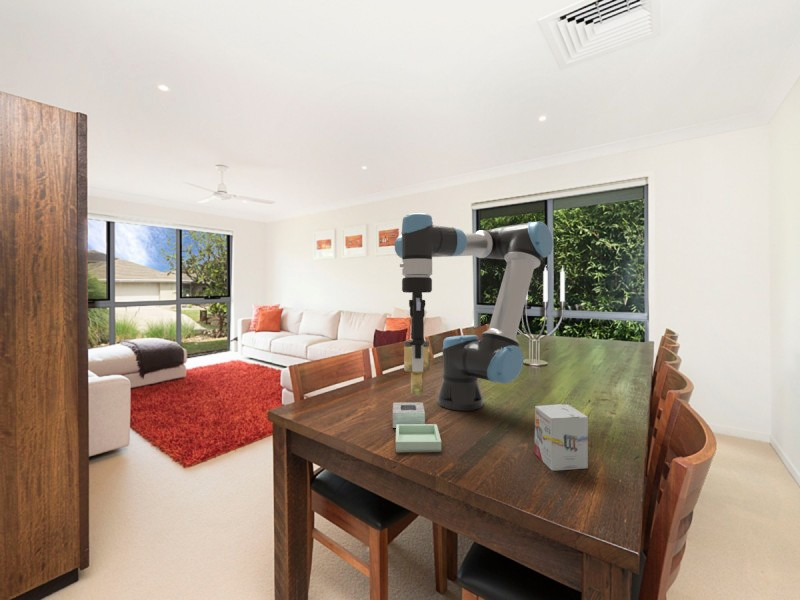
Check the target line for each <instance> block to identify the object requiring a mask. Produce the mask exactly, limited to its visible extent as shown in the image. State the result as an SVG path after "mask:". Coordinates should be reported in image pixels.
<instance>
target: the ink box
mask: <svg viewBox="0 0 800 600" xmlns="http://www.w3.org/2000/svg"><path fill="white" fill-rule="evenodd" d="M534 414H535V415H534V454H535V455H536V456H537V457H538V458H539V459H540V461H542V462H543V463H544V464H545V465H546V466H547V468H549V469H550V470H551V471H552V472H553V471H554V472H555V471H565V470H566V471H567V470H568V471H569V470H580V469H581V470H583V469H588V466H589V464H588V462H589V459H588V456H589V455H588V453H589V452H588V450H589V441H588V440H589V416H587V415H586V414H584V413H583V412H581V411H579V410H578V409H576V408H575V407H573V406H571V405H570V404H562V403H558V404H555V403H554V404H545V405H535V406H534Z"/></svg>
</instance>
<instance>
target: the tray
mask: <svg viewBox="0 0 800 600" xmlns="http://www.w3.org/2000/svg"><path fill="white" fill-rule="evenodd" d="M395 453H442V439H441V435H440V432H439V428H438V424H437V423H425V424H396V429H395Z"/></svg>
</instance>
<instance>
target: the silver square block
mask: <svg viewBox="0 0 800 600" xmlns="http://www.w3.org/2000/svg"><path fill="white" fill-rule="evenodd" d="M396 424H426V412H425V407H424V403H423V402H393V403H392V429H393V428H396Z"/></svg>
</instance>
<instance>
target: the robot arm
mask: <svg viewBox="0 0 800 600" xmlns="http://www.w3.org/2000/svg"><path fill="white" fill-rule="evenodd" d="M401 222H402V225H401V231H400V232H401V234H400V235H398V236H397V237H396V239H395V241H394V252H395V253H396V256H398V258H401V259H402V261H401V263H399V267H400V268H402V269H401V271H402V273H401V274H402V276H403V277H402V279H401V291H402V292H403V293H406V294H407V293H410V294H412V295H411V299H408V307H409V315H410V318H411V321H410V324H411V326H410V328H411V329H410V330H411V331H410V339H411V340H410V341H412V342H410V345H412V372H423V344H424V341H425V339H424V337H425V335H424V333H425V332H424V330H425V329H424V328H425V327H424V325H425V323H424V319H425V318H424V317H425V315H426V314H425V307H426V300H425V299H423V293H431V292H432V291H433V279H432V277H431V276H432V275H433V258H447V257H465V256H466V257H469V256H475V257H476V258H479V259H492V260H493V259H494V260H495V259H496V260H505V262H506V266H505V270H504V274H503V278H502V281H501V285H500V288H499V292H498V295H497V299H496V302H495V306H494V307H493V308H494V309H493V313H492V316H491V319H490V323H489V326H488V329H487V330H485V331H483V332H482V333H481V336H480V340H479V337H478V335H476V334H466V335H463V334H462V335H454V336H449V337H448V336H447V337H445V338H444V339H443V343H442V345H443V346H442V382H441V385H440V387H439V391H438V393H437V394H438V395H437V405H439V406H440V405H441V406H440V407H442V406H443V407H442V408H444V407H445V409H448V410H453V411H462V412H463V411H465V412H466V411H474V410H478V409H480V408H482V407H483V406H484V398H483V394H482V390H481V388H480V385H479V379H482V380H485V381H490V382H491V383H496V384H497V383H499V384H505V385H507V384H510V383H512V382H513V381H514V380H515V379H517V378H518V376H519V375H520V373H521V372H522V369H523V366H524V353H523V350H522V349H521V348H520V341H519V340H518V338H517V334H518V331H519V327H520V322H521V320H522V315H523V311H524V307H525V304H526V301H527V296H528V292H529V289H530V285H531V281H532V277H533V273H534V270H535V269H537V268H539V267H540V265H541V262H542V258H547V257H549V256H550V255H551V253H552V251H553V245H554V244H553V237H552V233H551V230H550V228H549V227H548V226H547V224H546V223H545V222H542V221H529V222H525V223H518V224H511V225H504V226H503V225H502V226H499V227H496V228H491V229H486V230H485V229H484V230H482V229H481V230H477V231H476V232H469V233H468V232H467V233H466V232H464V231H463V230H461V229H460V228H456V227H454V226H453V227H449V226H440V225H435V224H433V218H432V216H431V215H430V214H428V213H419V212H417V213H415V212H414V213H408V214H406V215H404V216H403V218H402V221H401ZM423 373H424V372H423Z"/></svg>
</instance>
